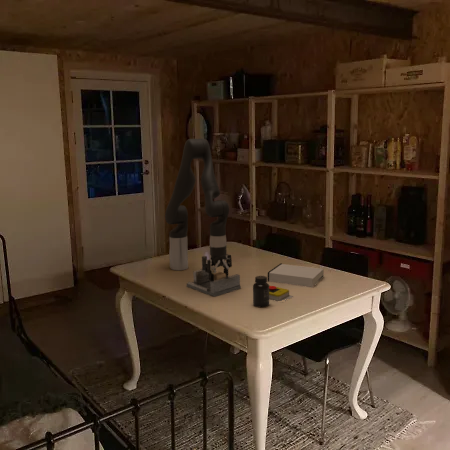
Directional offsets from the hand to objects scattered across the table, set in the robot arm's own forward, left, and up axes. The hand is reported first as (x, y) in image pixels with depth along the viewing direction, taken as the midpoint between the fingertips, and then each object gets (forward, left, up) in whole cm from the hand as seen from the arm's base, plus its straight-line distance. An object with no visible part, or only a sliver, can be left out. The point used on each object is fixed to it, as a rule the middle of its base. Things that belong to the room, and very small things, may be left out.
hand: (218, 279), depth 233 cm
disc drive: (+15, +37, -6) cm, 40 cm away
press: (-4, 0, -5) cm, 6 cm away
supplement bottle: (+27, 0, -5) cm, 28 cm away
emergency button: (+24, +12, -6) cm, 27 cm away
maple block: (0, 0, -4) cm, 4 cm away
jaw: (-10, 0, -3) cm, 11 cm away
